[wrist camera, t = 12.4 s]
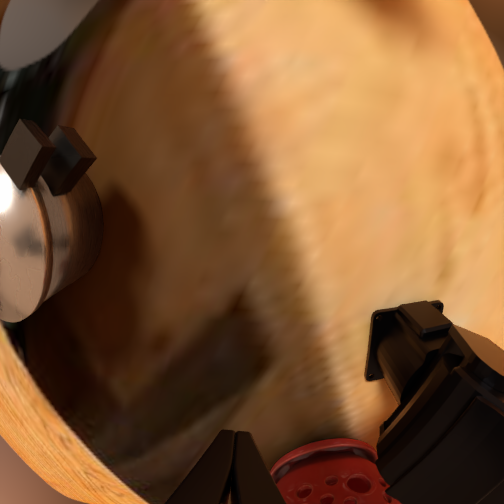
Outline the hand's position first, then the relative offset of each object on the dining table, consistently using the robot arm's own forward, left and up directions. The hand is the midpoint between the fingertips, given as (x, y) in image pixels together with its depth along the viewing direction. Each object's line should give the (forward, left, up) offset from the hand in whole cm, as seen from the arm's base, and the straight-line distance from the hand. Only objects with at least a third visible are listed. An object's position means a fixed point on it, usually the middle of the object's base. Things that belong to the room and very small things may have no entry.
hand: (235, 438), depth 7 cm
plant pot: (-22, -6, -13) cm, 26 cm away
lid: (+3, +18, -7) cm, 19 cm away
